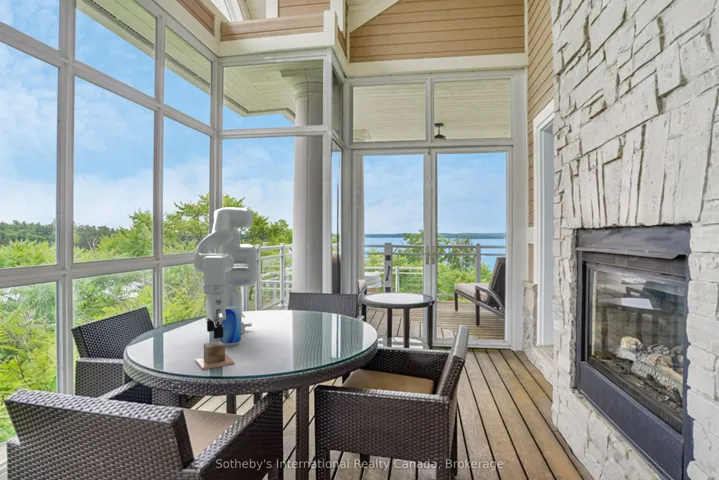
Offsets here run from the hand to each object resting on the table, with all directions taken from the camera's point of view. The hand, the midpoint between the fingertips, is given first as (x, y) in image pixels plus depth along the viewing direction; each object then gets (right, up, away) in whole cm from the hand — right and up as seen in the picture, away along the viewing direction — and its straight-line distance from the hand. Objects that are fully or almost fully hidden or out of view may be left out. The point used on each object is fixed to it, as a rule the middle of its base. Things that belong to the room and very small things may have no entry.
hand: (215, 334), depth 141 cm
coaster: (0, -10, -1) cm, 10 cm away
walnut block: (0, -9, -1) cm, 9 cm away
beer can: (-2, -10, +23) cm, 25 cm away
